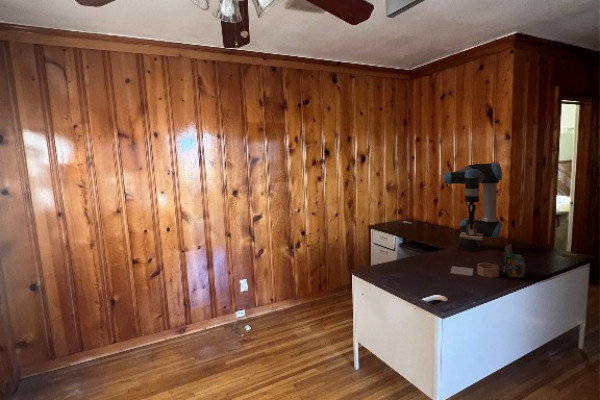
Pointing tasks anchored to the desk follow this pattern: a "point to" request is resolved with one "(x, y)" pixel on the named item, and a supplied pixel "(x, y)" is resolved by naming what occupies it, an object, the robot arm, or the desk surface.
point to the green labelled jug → (513, 265)
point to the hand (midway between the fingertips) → (471, 233)
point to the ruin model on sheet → (508, 249)
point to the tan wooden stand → (473, 237)
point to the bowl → (488, 270)
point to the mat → (462, 270)
